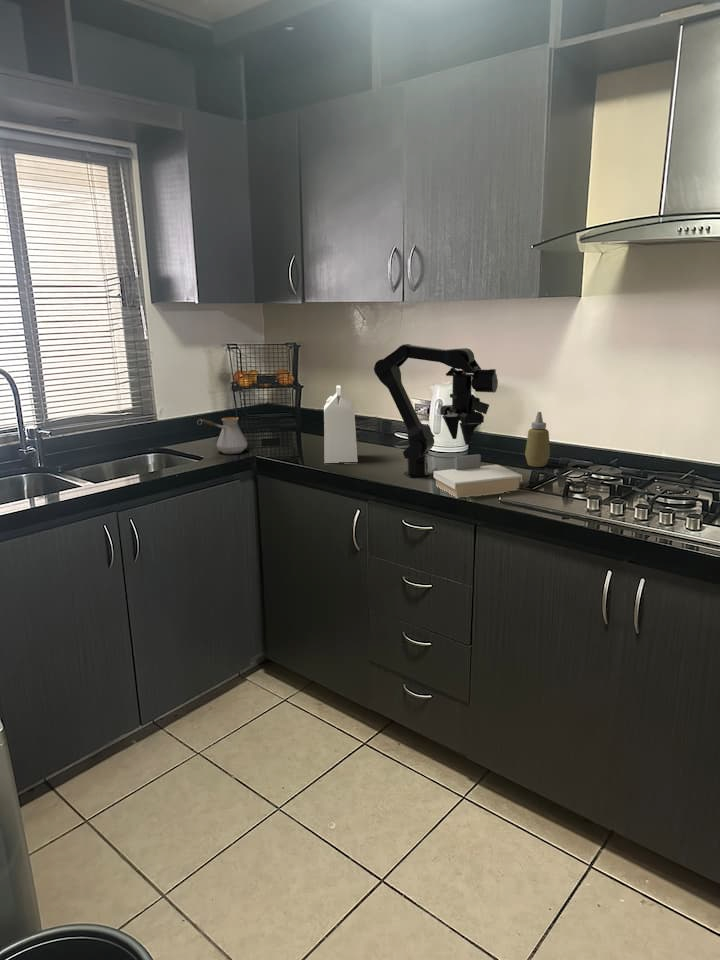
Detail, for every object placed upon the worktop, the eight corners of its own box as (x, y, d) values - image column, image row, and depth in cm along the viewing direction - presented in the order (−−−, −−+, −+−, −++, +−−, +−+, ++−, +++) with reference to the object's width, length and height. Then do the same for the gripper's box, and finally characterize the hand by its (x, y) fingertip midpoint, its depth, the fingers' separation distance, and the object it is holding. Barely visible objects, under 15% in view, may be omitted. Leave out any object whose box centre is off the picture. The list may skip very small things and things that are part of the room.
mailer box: (436, 486, 207) (436, 473, 206) (494, 479, 213) (495, 467, 212) (456, 498, 194) (457, 484, 193) (518, 491, 200) (519, 477, 199)
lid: (433, 477, 207) (433, 458, 205) (497, 470, 213) (497, 451, 212) (454, 489, 193) (455, 468, 192) (521, 481, 200) (522, 461, 198)
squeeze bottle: (543, 462, 235) (546, 409, 230) (553, 467, 227) (556, 413, 222) (520, 463, 233) (522, 410, 229) (530, 468, 226) (532, 414, 221)
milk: (357, 463, 239) (355, 388, 233) (324, 464, 239) (321, 389, 232) (355, 455, 251) (354, 384, 244) (324, 456, 250) (321, 384, 244)
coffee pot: (232, 447, 269) (229, 409, 265) (254, 450, 262) (251, 411, 259) (190, 458, 252) (187, 418, 248) (213, 462, 245) (209, 420, 242)
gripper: (500, 393, 201) (498, 445, 205) (472, 386, 218) (471, 434, 222) (466, 395, 198) (464, 448, 202) (440, 387, 215) (439, 436, 219)
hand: (460, 441), depth 212 cm, fingers open, 9 cm apart
